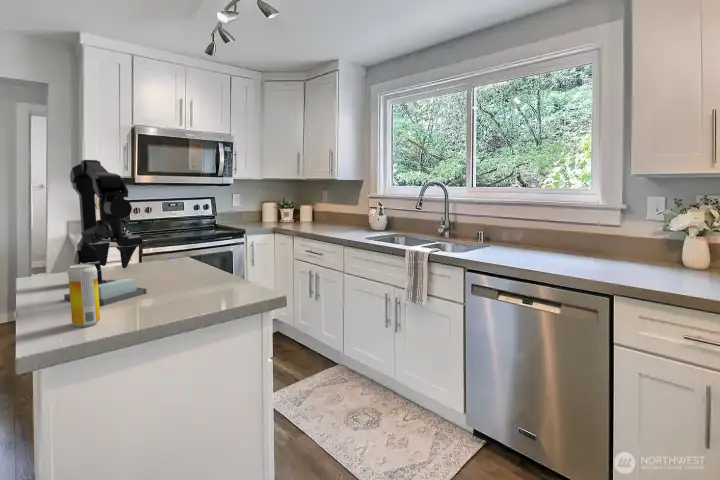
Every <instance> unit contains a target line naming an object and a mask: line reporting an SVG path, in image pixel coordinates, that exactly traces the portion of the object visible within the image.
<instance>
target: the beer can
mask: <svg viewBox="0 0 720 480" xmlns="http://www.w3.org/2000/svg"><path fill="white" fill-rule="evenodd" d="M67 274H68V275H67V276H68V288H69V289H68V290H69V294H70V300H69V301H70V310H71V311H70V312H71V313H70V314H71V324H72V325H74V327H76V328H87V327H91V326H94V325H95V326H96V325H98V323H99V322H100V320H101V311H100V305H99V293H98V278H97V269H96V267H95V265H94V264H83V263H80V264H79V265H75V264H73V265H70V266H69V269H68V271H67Z"/></svg>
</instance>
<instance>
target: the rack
mask: <svg viewBox="0 0 720 480" xmlns="http://www.w3.org/2000/svg"><path fill="white" fill-rule="evenodd" d="M113 281H117V280H116V279H108V280H106V281H103V282H98V285H99V284H104V283H108V282H113ZM147 291H148V290H147V288H145V287H138V286H137V290H136V291H133V292H129V293H125V294H122V295H118V296H114V297H110V298H107V299H99V306H103V307H104V306H107V305H110V304H114V303H118V302H120V301H124V300H128V299H131V298H134V297H138V296H141V295H145V294H148V293H147ZM63 296H64V300H65V301H70V293H66V294H63Z"/></svg>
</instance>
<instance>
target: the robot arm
mask: <svg viewBox="0 0 720 480" xmlns="http://www.w3.org/2000/svg"><path fill="white" fill-rule="evenodd" d="M80 161H81V162H80V163H79V164H77V165H75V166H73V167H72V168H71V171H70V174H69V179H70V183H71V184H72V188H73V190H74V191H75V192H76V193H77V195H78V201H79V211H80V214H79V215H80V227H81V229H80V230H81V232H80V234H81V238H80V240H79V242H78V243H77V245H76V246H77V247H76V248H77V250H76V251H75V255H74V259H73V262H74V263H73V264H74V265H79V264H94V265H95V267H96V269H97V278H98V282H103V281H107V280H105V279H103V275H102V274H103V273H102V267H106V266H107V263H108V257H109V256H108V255H109V251H110V250H109V249H110V243H116V244H117V245H118V246H115V248H116V250H118V251H119V254H120V261H121V268H122V269H127V267H128V266H129V263H130V261H131V259H132V257H133V254H134V253H135V251H136V249H137V248H138V247H139V246H140V245H143V237H142V236H141V235H139V234H127V233H126V232H123V224H124V223H126V220H125V218H127V217H129V216H130V215H131V213H132V209H133V206H132V205H131V203H130V202H129V201H128V200H127V199H125V198H129V190H128V187H127V185H126V182H124V179H123V178H122V177H121V175H119V174H118V173H112V172H109V171H108V170H107V169H106V168H105V167H104V166H103V165H102V164H101V161H100V160H97V159H84V160H80ZM95 195H96V196H97V198H98V209H99V211H98V213H99V219H97V214H96V210H97V209H96V198H95Z"/></svg>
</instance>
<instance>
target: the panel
mask: <svg viewBox="0 0 720 480" xmlns="http://www.w3.org/2000/svg"><path fill="white" fill-rule="evenodd" d="M137 287H138V283H137V279H136V278H128V277H127V278H124V279H119V280H116V281H113V282H108V283H104V284H99V285H98V293H99V299H107V298H110V297H114V296H118V295H122V294H125V293H129V292H133V291H136V290H137Z"/></svg>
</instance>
